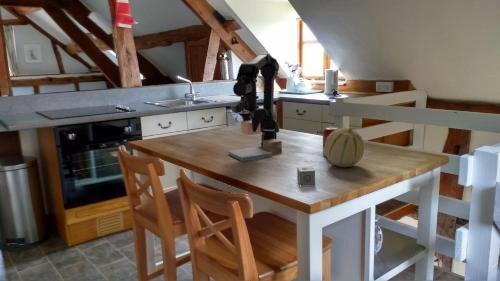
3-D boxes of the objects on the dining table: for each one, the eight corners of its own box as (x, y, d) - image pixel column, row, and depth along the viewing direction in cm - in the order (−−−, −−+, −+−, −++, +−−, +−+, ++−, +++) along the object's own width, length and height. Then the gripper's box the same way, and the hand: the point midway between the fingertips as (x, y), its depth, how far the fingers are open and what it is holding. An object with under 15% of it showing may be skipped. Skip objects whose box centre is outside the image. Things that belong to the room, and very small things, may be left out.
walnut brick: (274, 149, 179) (274, 138, 178) (281, 152, 174) (281, 141, 173) (263, 151, 177) (263, 140, 176) (270, 153, 171) (270, 142, 170)
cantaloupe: (331, 159, 158) (331, 123, 155) (368, 163, 151) (369, 125, 148) (318, 169, 146) (318, 129, 143) (357, 173, 139) (358, 132, 135)
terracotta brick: (253, 131, 171) (253, 119, 170) (260, 133, 165) (260, 121, 164) (241, 132, 168) (240, 121, 167) (247, 135, 163) (247, 123, 162)
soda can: (329, 158, 160) (330, 129, 157) (319, 155, 166) (319, 127, 163) (342, 156, 163) (343, 128, 160) (332, 153, 169) (332, 125, 166)
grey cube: (297, 181, 132) (297, 167, 131) (311, 180, 133) (311, 166, 132) (299, 186, 128) (299, 171, 127) (315, 185, 128) (315, 170, 127)
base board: (256, 150, 178) (256, 146, 178) (271, 156, 166) (271, 153, 166) (228, 154, 172) (228, 151, 172) (242, 161, 160) (242, 157, 160)
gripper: (222, 93, 168) (224, 129, 171) (242, 96, 151) (244, 136, 155) (245, 91, 173) (246, 126, 176) (267, 94, 157) (268, 133, 160)
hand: (250, 130), depth 166 cm, fingers closed on terracotta brick, 6 cm apart
